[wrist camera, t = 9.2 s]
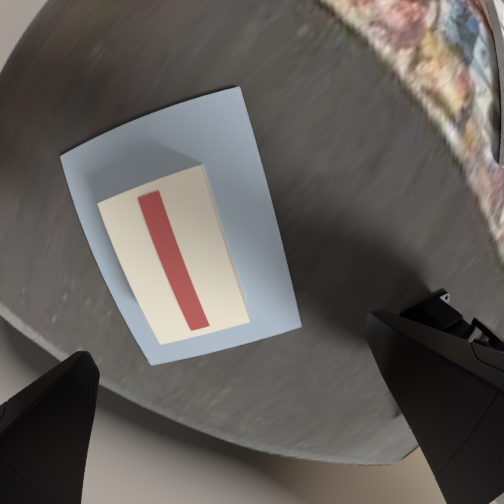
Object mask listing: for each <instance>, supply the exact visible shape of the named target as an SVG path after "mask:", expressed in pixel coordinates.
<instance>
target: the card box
mask: <svg viewBox="0 0 504 504" xmlns="http://www.w3.org/2000/svg"><path fill="white" fill-rule="evenodd" d="M97 204H98V207H99V210H100V213H101V216H102V218H103V221H104V224H105V226H106V229H107V232H108V234H109V237H110V239H111V242H112V244H113V247H114V249H115V252H116V254H117V257H118V259H119V261H120V264H121V266H122V268H123V271H124V273H125V275H126V277H127V280H128V282H129V284H130V286H131V288H132V290H133V293H134V295H135V297H136V299H137V301H138V303H139V305H140V307H141V309H142V311H143V313H144V315H145V317H146V319H147V321H148V323H149V325H150V327H151V329H152V330H153V332H154V334H155V336H156V338H157V340H158V342H159V343H160V345H162V344H167V343H171V342H175V341H180V340H184V339H188V338H192V337H196V336H200V335H204V334H208V333H212V332H216V331H219V330H223V329H227V328H231V327H234V326H238V325H241V324H245V323H249V322H250V318H249V313H248V308H247V303H246V298H245V294H244V291H243V288H242V285H241V282H240V278H239V275H238V272H237V269H236V266H235V263H234V260H233V257H232V253H231V250H230V247H229V244H228V241H227V238H226V234H225V231H224V228H223V225H222V222H221V218H220V215H219V212H218V209H217V205H216V202H215V199H214V196H213V192H212V189H211V186H210V183H209V179H208V176H207V173H206V169H205V166H204V164H201V165H198V166H195V167H191V168H188V169H185V170H182V171H179V172H176V173H173V174H171V175H168V176H165V177H162V178H159V179H156V180H154V181H151V182H148V183H146V184H143V185H140V186H138V187H135V188H133V189H130V190H127V191H125V192H122V193H120V194H118V195H115V196H113V197H111V198H108V199H106V200H104V201H102V202H100V203H97Z"/></svg>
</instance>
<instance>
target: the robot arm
mask: <svg viewBox="0 0 504 504" xmlns="http://www.w3.org/2000/svg"><path fill="white" fill-rule="evenodd" d="M449 299H450V294H449V293H448V292H444V293H442V294H440V295H438V296H436V297H434V298H432V299H430V300H428V301H426V302H424V303H422V304H419V305H417V306H415V307H413V308H411V309H409V310H407V311H404V312H403V313H401V314H400V316H397V315H395V314H392V313H389V312H387V311H384V310H381V309H379V310H375V311H371V312H369V313H368V316H367V325H366V340H367V342H368V344H369V347H370V349H371V351H372V354H373V356H374V358H375V361H376V363H377V365H378V368H379V370H380V373H381V375H382V377H383V379H384V381H385V383H386V384H387V386H388V388H389V390H390V391H391V393H392V395H393V397H394V399H395V401H396V402H397V404H398V406H399V408H400V410H401V412H402V413H403V415H404V417H405V419H406V421H407V423H408V425H409V427H410V429H411V430H412V432H413V434H414V436H415V438H416V440H417V442H418V444H419V446H420V448H421V450H422V452H423V454H424V456H425V458H426V460H427V462H428V464H429V466H430V468H431V470H432V472H433V474H434V476H435V479H436V481H437V483H438V485H439V488H440V489H441V492H442V494H443V496H444V499H445V501H446V503H447V504H489V503H490V502H492V501H493V500H495V501H496V502H497V504H504V339H503V338H501V337H500V336H499V335H498V334H497V333H495V332H494V331H493V330H492V329H491V328H489V327H488V326H486V325H485V324H484V323H482V322H481V321H479V320H478V319H476V318H475V317H474V319H473V320H472V322H471V323H472V324H471V325H470V324H468V323H467V322H466V321H465V320H464V319H463V316H462V315H461V314H460V313H459V312H457V311H456V310H455V309H454V308H452V307H451V306H450V305H449ZM99 378H100V373H99V369H98V367H97V366H96V364H95V362H94V360H93V358H92V356H91V354H90V353H89V352H88V351H77V352H76V353H74V354H73V355H71V356H70V357H68V358H67V359H65V360H64V361H62V362H61V363H60V364H58V365H57V366H55V367H54V368H52V369H51V370H50V371H48V372H47V373H45V374H44V375H42V376H41V377H40V378H38V379H37V380H35V381H34V382H32V383H31V384H30V385H28V386H27V387H25V388H24V389H23V390H21V391H20V392H18V393H17V394H16V395H14V396H13V397H11V398H10V399H9V400H8V401H7V402H4V403H3V404H2V405H0V504H81V498H82V488H83V480H84V472H85V465H86V458H87V452H88V446H89V441H90V436H91V430H92V425H93V421H94V415H95V409H96V400H97V392H98V385H99Z"/></svg>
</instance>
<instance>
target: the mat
mask: <svg viewBox="0 0 504 504" xmlns="http://www.w3.org/2000/svg"><path fill="white" fill-rule="evenodd" d="M60 158H61V162H62V166H63V169H64V173H65V176H66V180H67V183H68V186H69V190H70V193H71V196H72V199H73V202H74V205H75V208H76V211H77V214H78V216H79V219H80V222H81V225H82V227H83V230H84V233H85V235H86V238H87V240H88V243H89V245H90V248H91V250H92V252H93V255H94V257H95V259H96V262H97V264H98V266H99V269H100V271H101V273H102V275H103V277H104V280H105V282H106V284H107V286H108V288H109V290H110V292H111V294H112V296H113V298H114V300H115V302H116V304H117V306H118V308H119V310H120V312H121V314H122V316H123V318H124V320H125V321H126V323H127V325H128V327H129V329H130V330H131V332H132V334H133V336H134V338H135V339H136V341H137V343H138V344H139V346H140V348H141V350H142V351H143V353H144V355H145V356H146V358H147V359H148V361H149V363H150V364H151V365H156V364H161V363H166V362H171V361H176V360H181V359H185V358H190V357H194V356H199V355H203V354H207V353H211V352H215V351H219V350H223V349H227V348H231V347H235V346H239V345H242V344H246V343H250V342H253V341H257V340H260V339H264V338H267V337H270V336H274V335H277V334H280V333H284V332H287V331H290V330H293V329H296V328H300V327H302V326H301V321H300V317H299V312H298V308H297V303H296V299H295V295H294V290H293V286H292V282H291V277H290V273H289V269H288V265H287V260H286V256H285V252H284V248H283V244H282V240H281V236H280V232H279V228H278V224H277V220H276V216H275V212H274V208H273V204H272V200H271V197H270V193H269V189H268V185H267V181H266V178H265V174H264V170H263V167H262V163H261V159H260V156H259V152H258V148H257V145H256V141H255V138H254V134H253V130H252V127H251V123H250V120H249V117H248V113H247V110H246V106H245V103H244V99H243V96H242V93H241V89H240V87H236V88H231V89H227V90H223V91H220V92H216V93H212V94H209V95H205V96H202V97H198V98H195V99H192V100H189V101H186V102H182V103H179V104H176V105H173V106H171V107H168V108H165V109H162V110H159V111H157V112H154V113H151V114H149V115H146V116H143V117H141V118H138V119H136V120H134V121H131V122H129V123H126V124H124V125H122V126H119V127H117V128H115V129H113V130H111V131H108V132H106V133H104V134H102V135H100V136H98V137H96V138H94V139H92V140H90V141H88V142H86V143H84V144H82V145H80V146H78V147H76V148H74V149H72V150H70V151H69V152H67V153H65V154H63V155H61V156H60ZM201 164H204V166H205V169H206V173H207V176H208V179H209V183H210V186H211V189H212V192H213V196H214V199H215V202H216V205H217V209H218V212H219V215H220V218H221V222H222V225H223V228H224V231H225V234H226V238H227V241H228V244H229V247H230V250H231V253H232V257H233V260H234V263H235V266H236V269H237V272H238V275H239V278H240V282H241V285H242V288H243V291H244V294H245V298H246V303H247V308H248V313H249V318H250V322H249V323H245V324H241V325H238V326H234V327H231V328H227V329H223V330H219V331H216V332H212V333H208V334H204V335H200V336H196V337H192V338H188V339H184V340H180V341H175V342H171V343H167V344H162V345H160V343H159V342H158V340H157V338H156V336H155V334H154V332H153V330H152V329H151V327H150V325H149V323H148V321H147V319H146V317H145V315H144V313H143V311H142V309H141V307H140V305H139V303H138V301H137V299H136V297H135V295H134V293H133V290H132V288H131V286H130V284H129V282H128V280H127V277H126V275H125V273H124V271H123V268H122V266H121V264H120V261H119V259H118V257H117V254H116V252H115V249H114V247H113V244H112V242H111V239H110V237H109V234H108V232H107V229H106V226H105V224H104V221H103V218H102V216H101V213H100V210H99V207H98V204H97V203H100V202H102V201H104V200H106V199H108V198H111V197H113V196H115V195H118V194H120V193H122V192H125V191H127V190H130V189H133V188H135V187H138V186H140V185H143V184H146V183H148V182H151V181H154V180H156V179H159V178H162V177H165V176H168V175H171V174H173V173H176V172H179V171H182V170H185V169H188V168H191V167H195V166H198V165H201Z"/></svg>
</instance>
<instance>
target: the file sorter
mask: <svg viewBox="0 0 504 504" xmlns="http://www.w3.org/2000/svg"><path fill="white" fill-rule="evenodd" d="M485 2H486V6H487V9H488V13H489V17H490V21H491V25H492V30H493V35H494V40H495V46H496V52H497V59H498V67H499V76H500V89H501V145H500V158H499V165H500V166H501V167H502V168H504V3H503V2H502V1H501V0H485Z"/></svg>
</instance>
